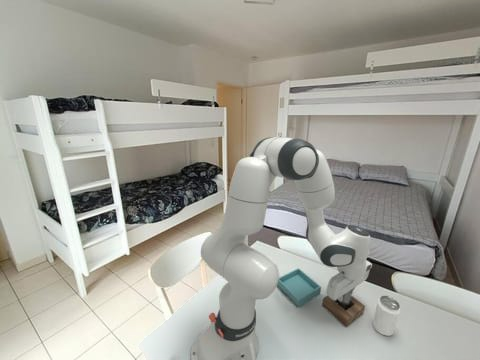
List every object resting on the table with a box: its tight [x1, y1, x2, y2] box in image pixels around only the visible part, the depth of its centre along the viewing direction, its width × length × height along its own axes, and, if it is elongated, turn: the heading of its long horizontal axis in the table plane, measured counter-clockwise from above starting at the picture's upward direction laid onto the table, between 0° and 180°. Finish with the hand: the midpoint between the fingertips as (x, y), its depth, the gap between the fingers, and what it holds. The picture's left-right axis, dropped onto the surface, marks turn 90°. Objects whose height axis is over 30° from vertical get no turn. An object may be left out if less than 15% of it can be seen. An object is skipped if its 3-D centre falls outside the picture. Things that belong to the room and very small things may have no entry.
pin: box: [337, 290, 353, 311], centre depth 83 cm, size 4×4×10 cm
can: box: [371, 295, 401, 337], centre depth 76 cm, size 6×6×12 cm
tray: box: [276, 267, 322, 309], centre depth 93 cm, size 13×13×4 cm
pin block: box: [321, 294, 366, 328], centre depth 84 cm, size 11×11×4 cm
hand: (344, 296), depth 82 cm, fingers closed on pin, 4 cm apart
